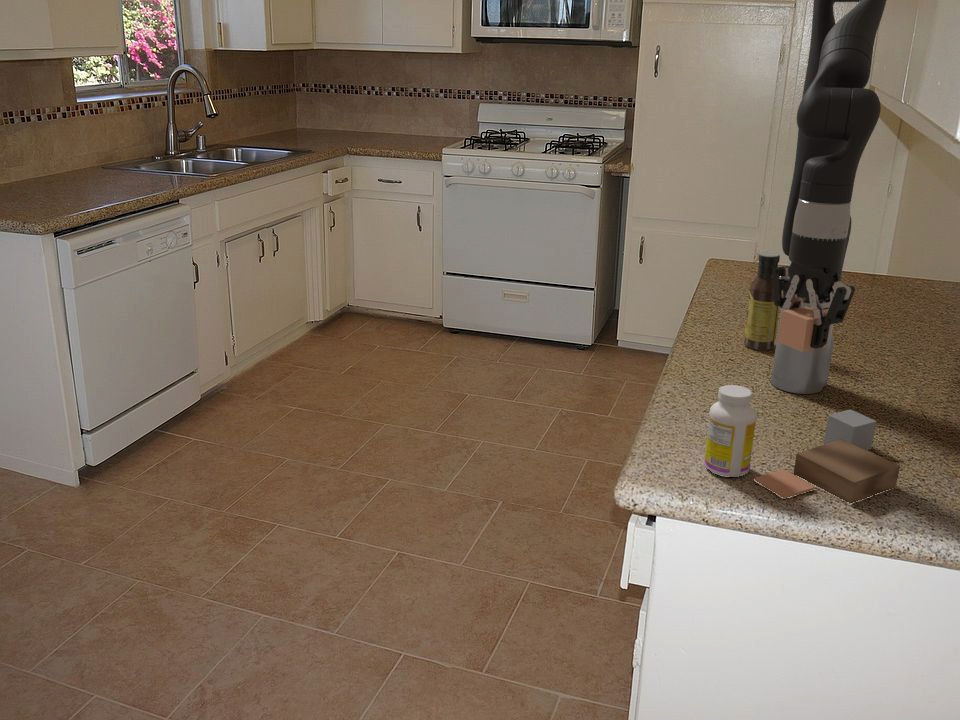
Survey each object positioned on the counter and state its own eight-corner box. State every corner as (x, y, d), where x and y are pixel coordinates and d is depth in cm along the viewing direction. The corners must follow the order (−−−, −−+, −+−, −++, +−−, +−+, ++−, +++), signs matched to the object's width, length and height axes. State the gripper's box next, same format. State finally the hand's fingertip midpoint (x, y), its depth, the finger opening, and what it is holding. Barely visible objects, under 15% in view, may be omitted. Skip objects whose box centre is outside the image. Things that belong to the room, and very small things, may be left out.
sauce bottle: (754, 339, 186) (766, 248, 179) (780, 347, 182) (793, 254, 175) (736, 345, 183) (748, 252, 175) (762, 353, 178) (775, 258, 171)
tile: (783, 472, 131) (783, 469, 130) (814, 490, 126) (815, 486, 125) (753, 481, 128) (753, 477, 128) (784, 500, 123) (784, 496, 123)
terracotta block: (801, 337, 136) (806, 306, 134) (826, 347, 132) (832, 315, 130) (777, 341, 134) (782, 310, 132) (802, 351, 129) (807, 319, 128)
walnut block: (837, 462, 135) (841, 438, 133) (895, 490, 127) (900, 465, 125) (792, 477, 130) (796, 453, 129) (849, 507, 122) (854, 482, 121)
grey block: (845, 437, 142) (850, 409, 141) (870, 449, 138) (876, 421, 137) (823, 443, 140) (828, 415, 138) (848, 456, 136) (854, 427, 134)
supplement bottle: (741, 458, 135) (751, 382, 130) (755, 479, 129) (766, 399, 124) (698, 459, 135) (706, 382, 130) (710, 480, 128) (719, 400, 124)
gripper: (878, 239, 122) (858, 353, 128) (801, 220, 134) (785, 325, 140) (840, 243, 119) (821, 360, 125) (764, 224, 131) (750, 331, 137)
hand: (802, 341), depth 132 cm, fingers closed on terracotta block, 5 cm apart
